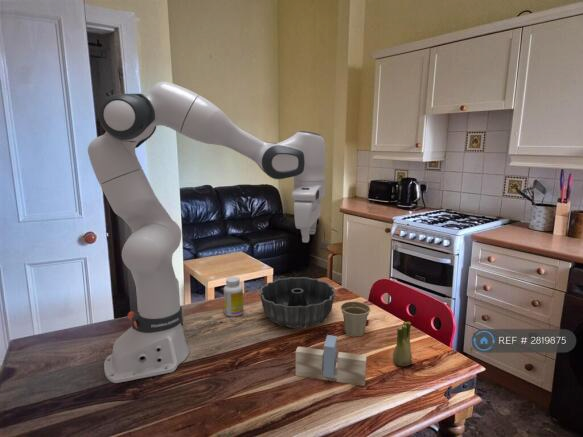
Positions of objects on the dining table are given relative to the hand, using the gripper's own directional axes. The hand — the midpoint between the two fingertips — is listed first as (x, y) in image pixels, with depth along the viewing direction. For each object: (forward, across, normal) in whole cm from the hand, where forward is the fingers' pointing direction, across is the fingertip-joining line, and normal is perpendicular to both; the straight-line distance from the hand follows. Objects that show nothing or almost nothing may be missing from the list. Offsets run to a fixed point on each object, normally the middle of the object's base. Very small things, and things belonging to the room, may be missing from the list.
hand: (309, 237), depth 109 cm
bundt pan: (+33, -16, -7) cm, 38 cm away
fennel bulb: (+33, +5, +28) cm, 44 cm away
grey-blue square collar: (+31, +16, +9) cm, 36 cm away
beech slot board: (+33, +16, +9) cm, 38 cm away
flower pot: (+33, -9, +14) cm, 37 cm away
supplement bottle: (+33, -13, -30) cm, 46 cm away
